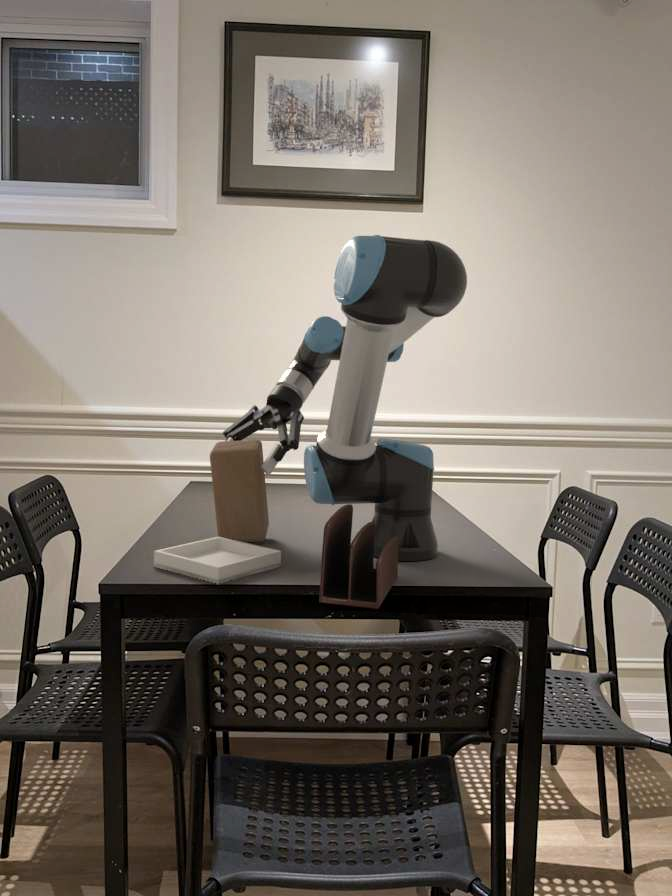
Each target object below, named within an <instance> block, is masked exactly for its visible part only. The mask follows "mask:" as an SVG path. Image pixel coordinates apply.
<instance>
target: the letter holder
mask: <svg viewBox="0 0 672 896" xmlns="http://www.w3.org/2000/svg"><path fill="white" fill-rule="evenodd" d="M353 514H354V506H353V504H343V506H341V507H340V508H339V509H337V510H336V511H335V512H334V513H333V514H332V515H331V516H330V518H329V519H328V520H327V521H326V523H325V525H324V528H323V534H322V535H323V536H322V537H323V539H322V550H321V566H320V581H319V596H318V598H319V599H318V601H319V603H320V604H329V605H337V606H338V605H339V606H347V607H356V608H365V609H374V610H379V608H380V606H381V605H382V604H383V602H384V600H385V599H386V597H387V595H388V593H389V592H390V591H391V588H392V587H393V585H394V584H395V582H396V580H397V579H398V577H399V576H398V575H399V573H398V572H399V561H398V538H397V537H396V536H395V537H393V538H391V539H390V540H389V541H388V543H387V544H386V545H385V546H384V548H383V550H382V552H381V554H380V556H379V558H378V557H377V559H376V562H375V561H374V559H375V557H374V540H375V522H372V521H368V523H366V524H365V525H363V526H362V527H361V528H360V529H359V530H358V532H356V535H355V536H354V538H353V540H352V531H353V530H352V529H353V516H354V515H353ZM374 562H375V563H374ZM374 564H375V565H374ZM374 566H375V567H374Z"/></svg>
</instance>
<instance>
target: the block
mask: <svg viewBox="0 0 672 896" xmlns="http://www.w3.org/2000/svg"><path fill="white" fill-rule="evenodd" d="M209 461H210V462H209V463H210V471H211V472H210V473H211V481H212V491H213V500H214V503H213V504H214V511H215V520H216V530H217V537H222V538H227V539H231V540H235V541H240V542H244V543H251V542H253V543H255V542H263V541H265V540H266V537H267V533H268V529H269V525H270V520H269V508H268V498H267V487H266V473H265V472H264V471H263V469H262V468H261V466H262V464H263V463H264V461H265V460H264V451H263V442H262V441H261V440H260V439H245V440H244V439H243V440H240V441H226V440H225V441H218V442H216V443H215V445H214V446H213V448H212V449H211V451H210V453H209Z"/></svg>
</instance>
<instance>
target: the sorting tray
mask: <svg viewBox="0 0 672 896" xmlns="http://www.w3.org/2000/svg"><path fill="white" fill-rule="evenodd" d="M281 561H282V551H281V550H279V549H274V548H271V547H265V546H261V545H256V544H253V543H250V542H240V541H235V540H231V539H227V538H222V537H218V536H215V537H210V538H207V539H201V540H197V541H192V542H188V543H187V542H186V543H183V544H179V545H175V546H169V547H166V548H162V549H157V550H153V567H154V568H157V569H161V570H164V571H167V570H168V572H172V573H175V574H178V573H180V574H179V575H182V574H183V575H182V576H185V575H186V577H189V576H190V578H193V577H194V578H193V579H196V578H198V579H197V580H200V579H201V580H200V581H203V580H205V581H204V582H207V581H209V582H208V583H211V582H212V583H211V584H214V583H216V584H215V585H221V584H224V583H223V582H225V583H228V582H231V581H230V580H232V581H236V580H238V578H239V579H241V578H242V579H243V578H246V577H248V576H252V575H256V574H259V573H263V572H267V571H269V570H273V569H277V568H280V567H281V563H282V562H281ZM245 576H246V577H245ZM227 581H228V582H227ZM220 583H221V584H220Z"/></svg>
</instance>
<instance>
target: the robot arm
mask: <svg viewBox="0 0 672 896" xmlns="http://www.w3.org/2000/svg"><path fill="white" fill-rule="evenodd" d="M467 285H468V275H467V271H466V267H465V264H464V263H463V260H462V259H461V258H460V256H459V255H458V253H456V252H455V251H454V250H453V249H452V248H451V247H449V246H448V245H446V244H444V243H442V242H440V241H435V240H429V239H424V240H423V239H414V238H402V237H392V236H384V235H383V236H381V235H380V234H374V235H357V236H354V237H352V238H350V239H349V240H348V242H346V243H345V245H344V246H343V248H342V250H341V252H340V254H339V256H338V259H337V262H336V267H335V271H334V283H333V292H334V296H335V299H336V301H337V302H338V303H339V304H341V305H340V310H341V312H342V313H343V314H344V315H345V317H346V319H347V320H346V325H345V326H344V325H342V324H341V323H340V322H339V320H337V319H334V318H332V317H331V316H328V315H327V316H326V315H325V316H323V315H322V316H319V317H317V318H315V319H314V320H313V321H312V323H311V324H310V325H309V326H308V328H307V330H305V333H304V334H305V335H304V337H303V340H302V343H301V344H300V346H299V348H298V349H297V352H296V354H295V356H294V358H292V361H291V362H290V364H289V366H288V367H287V368H286V369H285V371H284V372H283V373H282V375H281V377H280V378H279V379H278V381H277V382H276V383H275V386H274V387H273V388H272V389H271V391H270V392H269V394H268V396H267V397H266V405H264V407H263V408H259V407H258V406H257V405H256V404H255V405H252V406H251V408H250V409H249V410H248V411H247V412H245V414H243V415H242V416H241V417H239V419H237V420H236V421H235V422H234V423H232V424H231V425H230V426H228V427H227V428H226V429H225V430H223V431H222V435H223V436H224V438H225V441H240V440H244V439H246V438H247V437H249V436H251V435H253V434H255V433H256V432H258V431H263V430H265V429H272V430H277V434H278V438H279V440H278V441H279V443H277V442H276V443H275V444H274V446H273V448H272V449H271V450H270V452H269V454H268V455H267V457H266V459H264V460H263V461H264V463H263V464H262V466H261V468H262V469H263V471H264V473H265V476H269V477H270V476H271V474H272V473H273V471H274V469H275V468H276V466H277V465H278V463H280V462H281V461H282V460H283V459H284V457H285V455H286V454H287V452H289V451H291V450H293V451H297V450H298V449H299V447H300V446H299V445H300V437H301V427H302V423H303V422H304V419H305V417H304V415H303V413H302V412H301V408H302V407H303V404H304V403H305V402H306V400H308V398H309V396H310V394H311V393H312V391H313V390H314V388H315V386H316V385H317V383H318V382H319V380H320V379H321V378H322V376H323V375H324V373H325V371H326V370H327V369H328V368H329V367H330V365H331V363H332V361H339V363H338V367H337V373H336V379H335V385H334V389H333V395H332V401H331V406H330V412H329V417H328V422H327V427H326V429H323V430H321V432H320V433H319V434H318V436H317V438H316V439H317V440H316V445H314V444H311V445H308V446H306V448H305V449H304V453H303V471H304V478H305V484H306V489H307V492H308V495H309V497H310V499H311V500H312V502H314V503H316V504H318V505H319V504H320V505H331V506H335V505H348V504H351V505H356V504H357V505H358V504H359V505H361V504H364V505H365V504H374V513H373V517H372V519H371V522H375V540H374V558H377V559H378V558H379V556H380V554H381V552H382V550H383V548H384V546H385V545H386V544H387V543H388V541H389V540H390V539H391V538H393V537H395V536H396V537H397V538H398V562H399V561H400V562H417V561H427V560H431V559H434V558H436V557H437V556H438V549H439V545H438V540H437V536H436V532H435V528H434V525H433V521H432V503H433V502H432V497H433V486H434V485H433V483H434V471H435V465H434V451H433V450H432V448H431V447H430V446H427V445H424V444H420V443H415V442H410V441H404V440H397V439H390V438H378V439H377V441H376V442H375V441H374V440H373V438H372V432H373V427H374V423H375V419H376V416H377V415H376V414H377V410H378V405H379V401H380V395H381V390H382V387H383V382H384V377H385V373H386V368H387V363H396V362H398V361H399V360H400V359H401V357H402V354H403V352H404V344H405V342H407V341H408V340H409V339H410V338H412V336H413V335H415V334H416V333H417V332H418V331H421V330H422V328H424V326H426V325H427V324H429V322H431V321H432V320H434V318H440V317H441V318H442V317H444V316H446V315H447V314H449V313H450V312H451V311H454V310H455V308H456V307H457V306H458V305H459V304H460V303H461V301H462V300H463V298H464V296H465V293H466V291H467ZM259 420H260V421H259ZM289 422H290V426H289V433H288V427H287V423H289Z"/></svg>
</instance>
